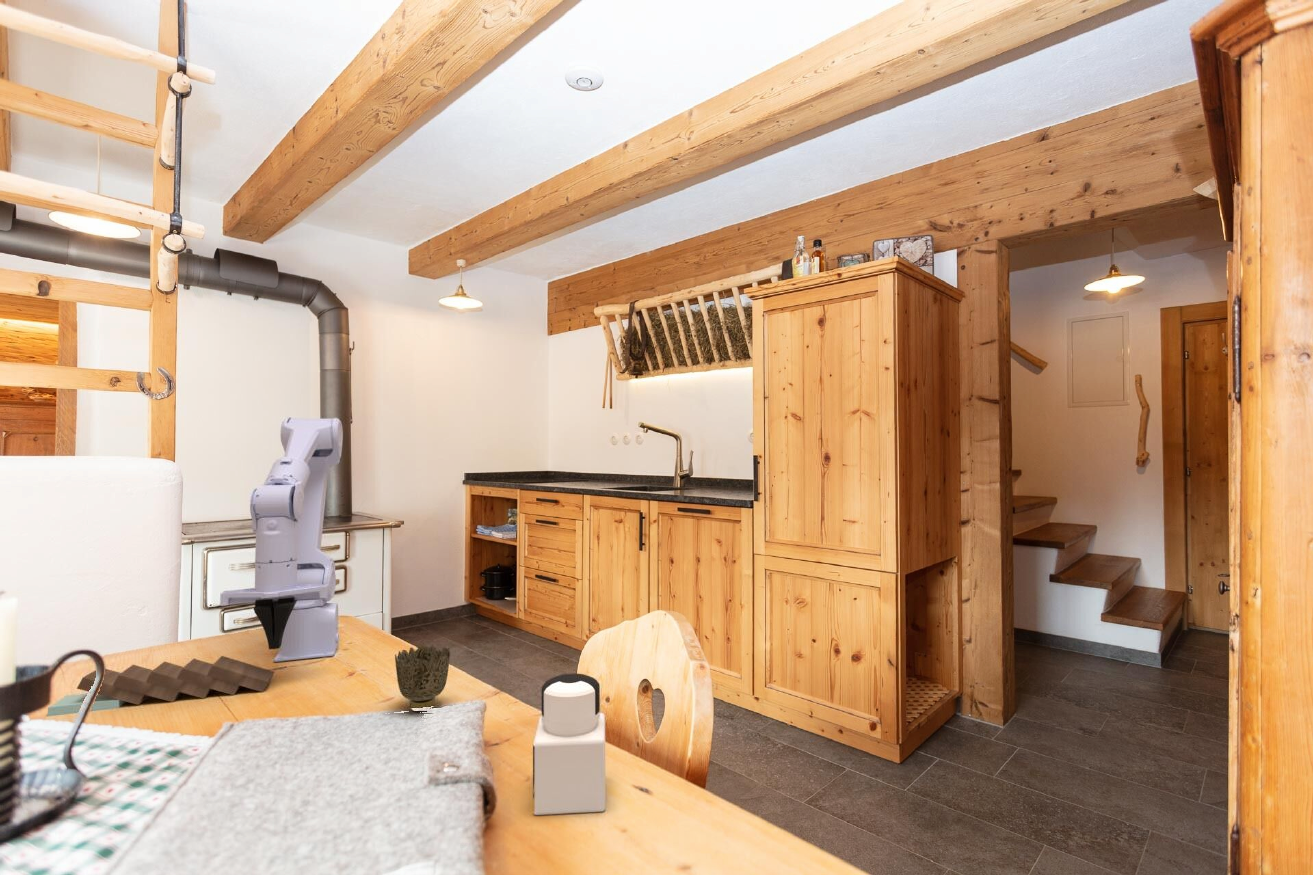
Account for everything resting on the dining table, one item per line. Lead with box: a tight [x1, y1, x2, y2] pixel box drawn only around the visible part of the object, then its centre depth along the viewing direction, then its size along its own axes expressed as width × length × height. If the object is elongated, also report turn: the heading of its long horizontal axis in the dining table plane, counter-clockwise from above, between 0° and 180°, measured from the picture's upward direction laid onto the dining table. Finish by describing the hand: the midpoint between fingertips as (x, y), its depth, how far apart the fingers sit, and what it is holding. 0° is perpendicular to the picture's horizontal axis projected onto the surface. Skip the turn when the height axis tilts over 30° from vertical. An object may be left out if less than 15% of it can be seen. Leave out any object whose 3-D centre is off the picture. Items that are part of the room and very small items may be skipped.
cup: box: [394, 644, 452, 709], centre depth 90 cm, size 8×7×8 cm
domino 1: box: [47, 692, 127, 717], centre depth 92 cm, size 2×5×8 cm
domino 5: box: [177, 658, 242, 696], centre depth 97 cm, size 2×5×8 cm
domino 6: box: [207, 655, 275, 693], centre depth 99 cm, size 2×5×8 cm
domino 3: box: [113, 664, 183, 703], centre depth 95 cm, size 2×5×8 cm
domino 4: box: [146, 661, 214, 700], centre depth 96 cm, size 2×5×8 cm
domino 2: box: [76, 668, 151, 705], centre depth 94 cm, size 2×5×8 cm
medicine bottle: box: [532, 673, 607, 816], centre depth 67 cm, size 7×7×12 cm
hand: (275, 647), depth 100 cm, fingers closed
